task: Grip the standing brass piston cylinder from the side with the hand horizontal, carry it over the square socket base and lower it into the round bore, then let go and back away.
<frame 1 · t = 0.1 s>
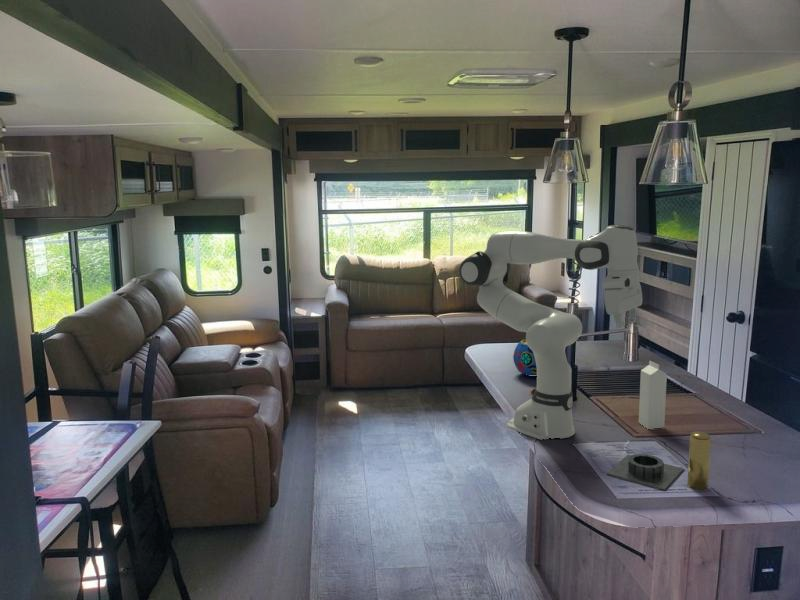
hand: (626, 325, 192), 39 cm above the table, tool pointing down, fingers open, 8 cm apart
piston: (697, 486, 172), on the table
milk: (651, 426, 216), on the table
square socket base: (645, 472, 181), on the table
ceramic pot: (533, 375, 277), on the table
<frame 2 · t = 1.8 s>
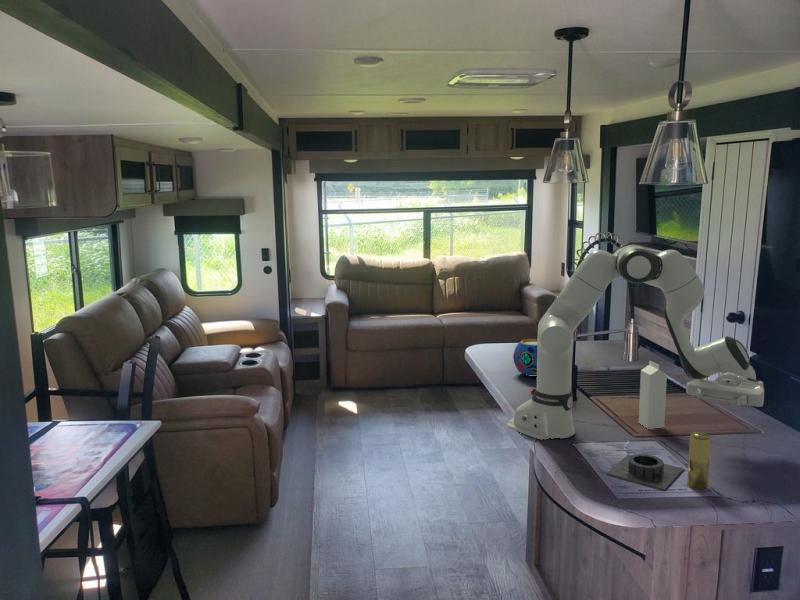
hand: (717, 399, 180), 20 cm above the table, tool horizontal, fingers open, 8 cm apart
nothing on the table moved.
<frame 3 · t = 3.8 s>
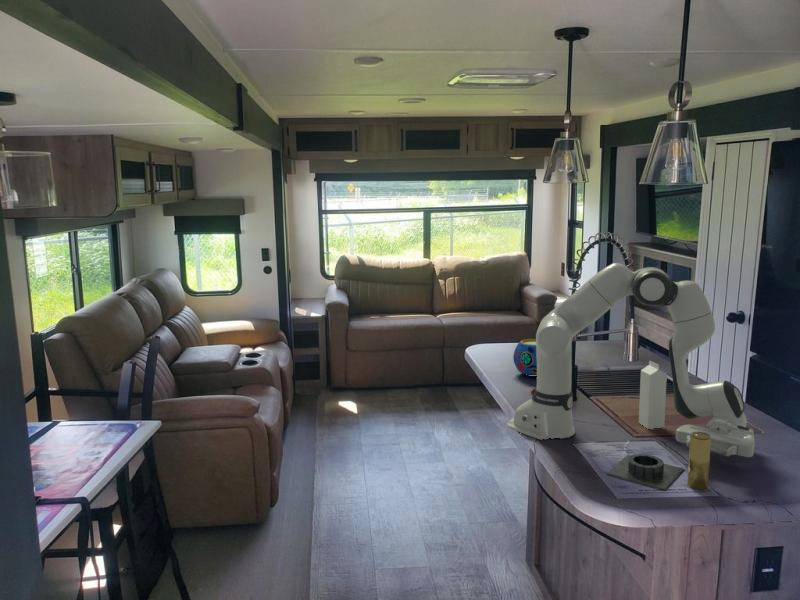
hand: (707, 449, 177), 8 cm above the table, tool horizontal, fingers open, 8 cm apart
nothing on the table moved.
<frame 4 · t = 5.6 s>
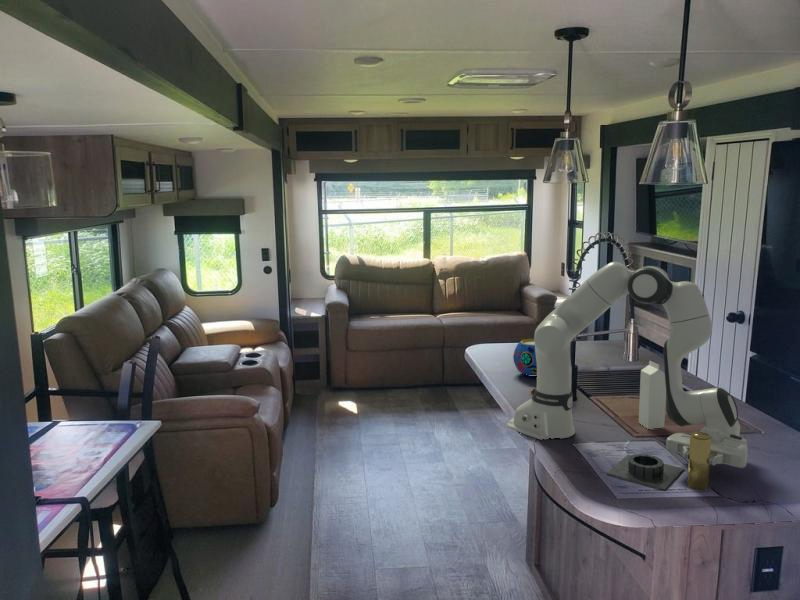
hand: (698, 459, 170), 8 cm above the table, tool horizontal, fingers closed on piston, 5 cm apart
piston: (697, 486, 172), on the table, touching gripper
everything else where it was.
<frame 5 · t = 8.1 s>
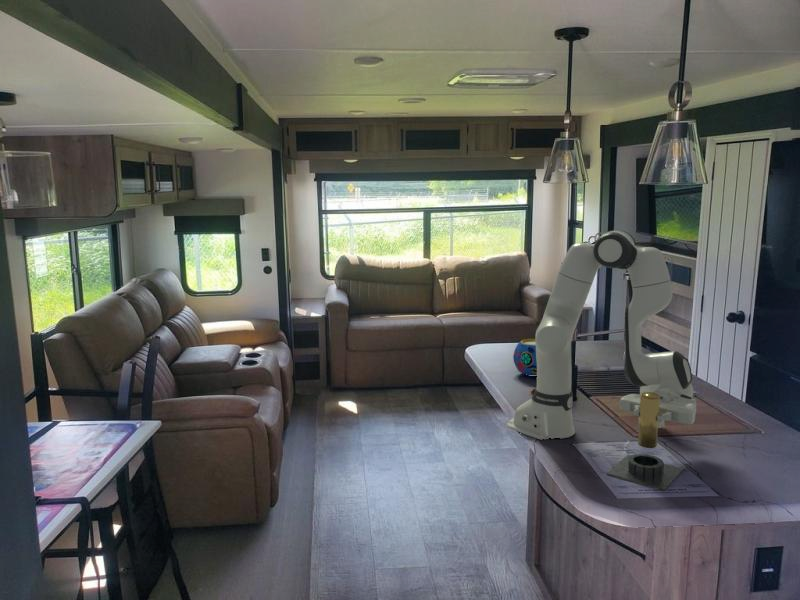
hand: (647, 416, 177), 17 cm above the table, tool horizontal, fingers closed on piston, 5 cm apart
piston: (647, 444, 179), point 8 cm above the table, touching gripper
everything else where it was.
when the fingers open (9 cm above the table, at t = 10.6 s): piston stays where it is, resting on square socket base.
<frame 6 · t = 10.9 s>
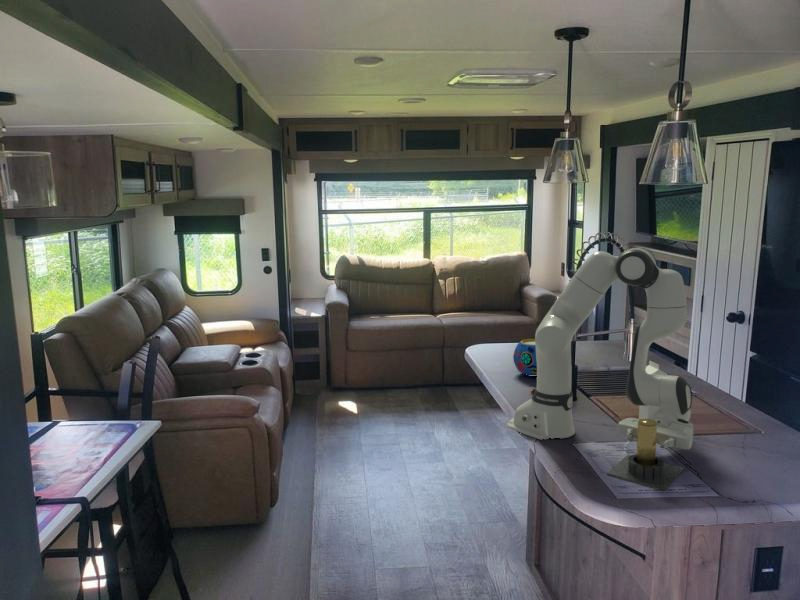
hand: (645, 441, 179), 9 cm above the table, tool horizontal, fingers open, 8 cm apart
piston: (645, 470, 181), point 1 cm above the table, touching square socket base
everything else where it was.
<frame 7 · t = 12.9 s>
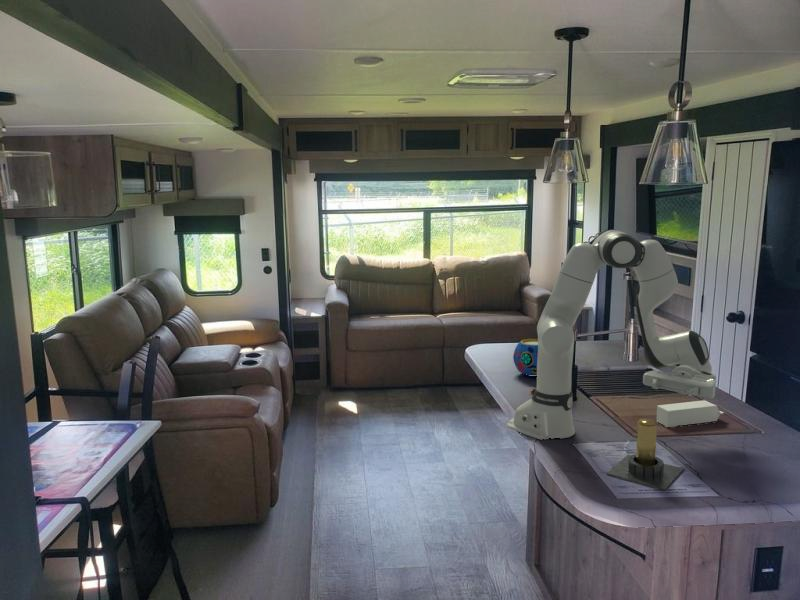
hand: (670, 389, 187), 21 cm above the table, tool horizontal, fingers open, 8 cm apart
milk: (661, 416, 216), point 3 cm above the table
everything else where it was.
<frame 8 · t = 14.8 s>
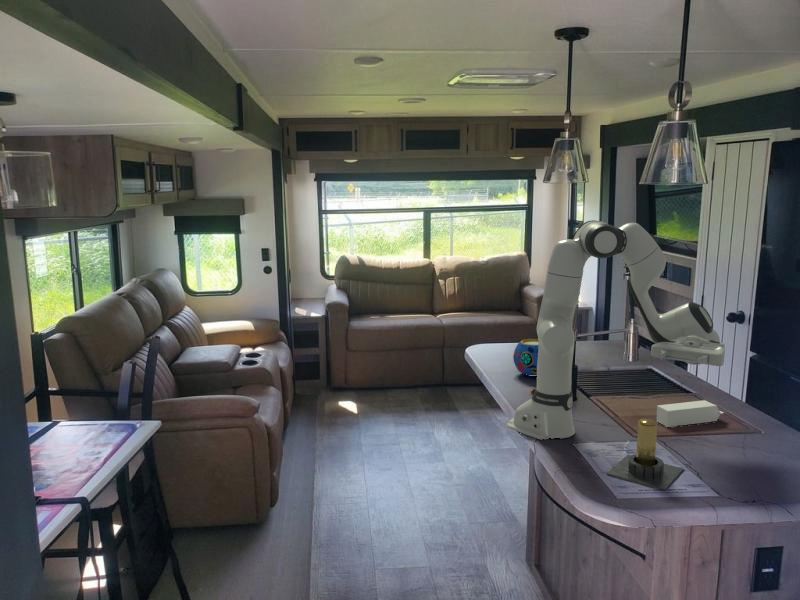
hand: (679, 359, 186), 30 cm above the table, tool horizontal, fingers open, 8 cm apart
nothing on the table moved.
at the end: piston 0.0 cm off-centre on the square socket base, point 0.5 cm above the square socket base's base; piston tilted 0°; the gripper is holding nothing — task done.
